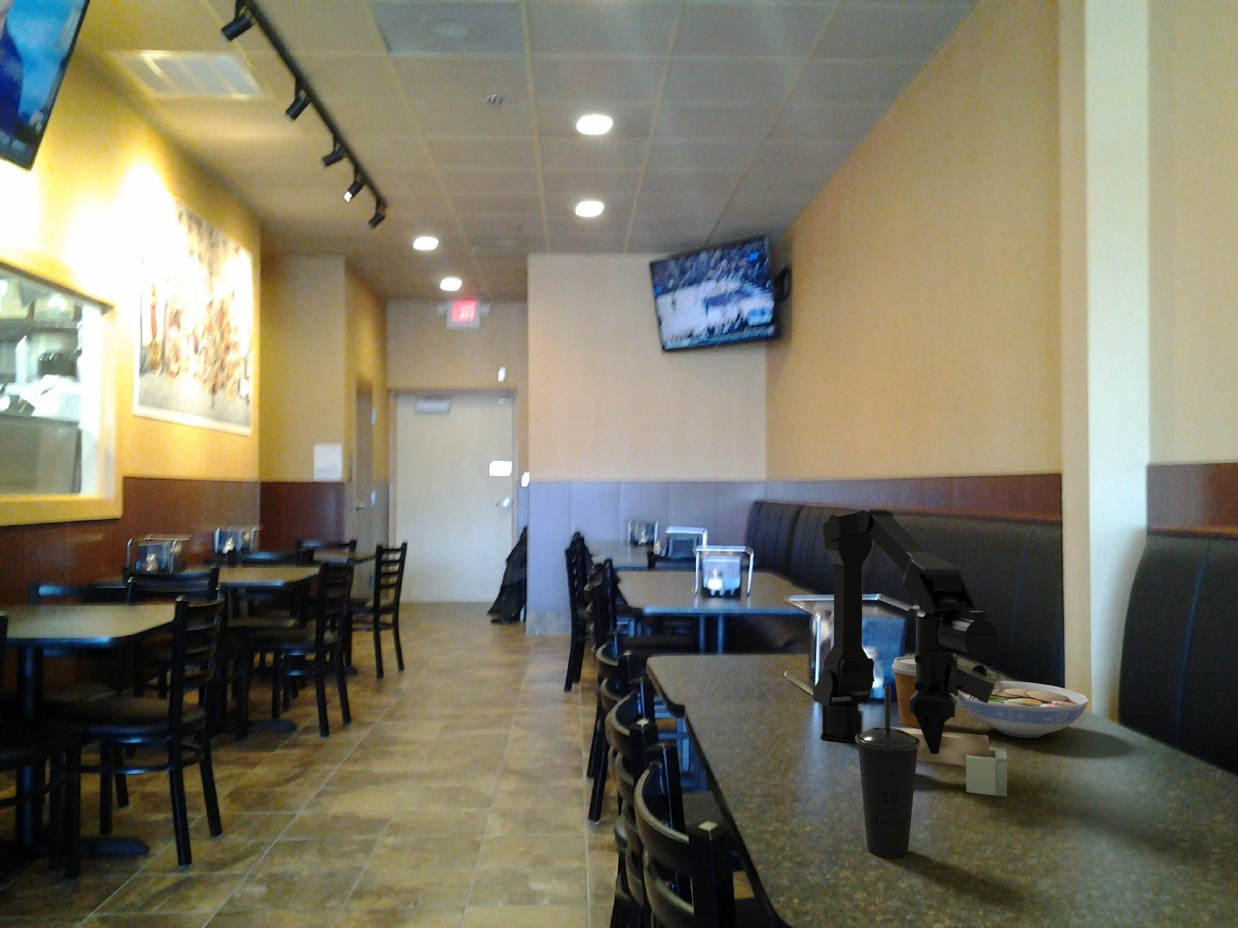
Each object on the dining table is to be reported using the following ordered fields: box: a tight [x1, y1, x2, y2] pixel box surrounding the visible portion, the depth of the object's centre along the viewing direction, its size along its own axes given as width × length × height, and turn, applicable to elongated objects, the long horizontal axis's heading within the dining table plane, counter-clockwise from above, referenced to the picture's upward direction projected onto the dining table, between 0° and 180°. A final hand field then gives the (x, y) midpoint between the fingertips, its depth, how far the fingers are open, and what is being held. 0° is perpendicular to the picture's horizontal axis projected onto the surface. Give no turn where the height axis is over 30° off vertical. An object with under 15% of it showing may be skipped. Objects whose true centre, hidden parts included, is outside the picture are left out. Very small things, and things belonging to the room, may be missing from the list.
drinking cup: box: [855, 685, 920, 859], centre depth 115 cm, size 8×8×20 cm
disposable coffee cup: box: [891, 656, 921, 729], centre depth 178 cm, size 10×10×12 cm
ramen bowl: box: [957, 672, 1090, 739], centre depth 173 cm, size 25×23×8 cm
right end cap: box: [965, 746, 1008, 798], centre depth 140 cm, size 6×8×5 cm
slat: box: [890, 726, 990, 766], centre depth 143 cm, size 15×3×4 cm, turn 72°
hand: (935, 750), depth 143 cm, fingers closed on slat, 3 cm apart
